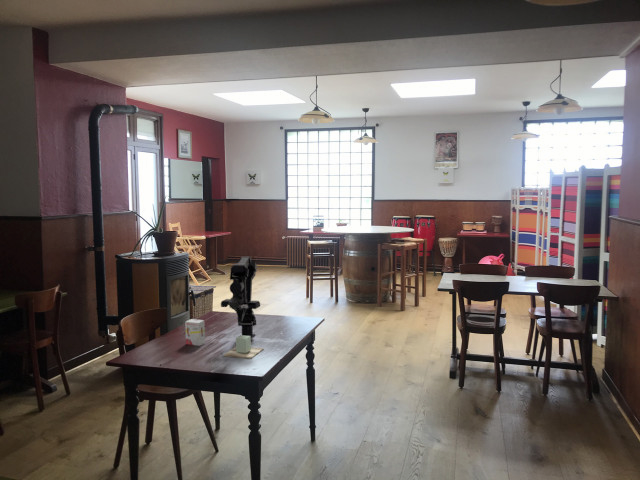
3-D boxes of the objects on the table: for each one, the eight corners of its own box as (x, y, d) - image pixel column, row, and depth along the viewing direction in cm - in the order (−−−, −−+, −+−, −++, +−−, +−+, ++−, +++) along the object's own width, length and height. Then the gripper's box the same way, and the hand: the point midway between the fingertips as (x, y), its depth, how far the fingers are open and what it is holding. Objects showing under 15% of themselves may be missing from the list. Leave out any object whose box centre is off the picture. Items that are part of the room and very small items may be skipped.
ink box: (185, 344, 258) (184, 321, 257) (191, 341, 263) (190, 318, 261) (199, 346, 255) (198, 322, 254) (205, 343, 259) (204, 320, 258)
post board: (237, 347, 252) (237, 346, 252) (263, 349, 248) (263, 348, 248) (223, 356, 238) (223, 355, 238) (251, 358, 234) (251, 357, 234)
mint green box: (241, 348, 246) (240, 335, 245) (251, 349, 245) (250, 336, 244) (236, 352, 241) (235, 338, 241) (246, 353, 240) (245, 339, 239)
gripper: (214, 292, 246) (216, 324, 248) (250, 294, 241) (251, 326, 243) (225, 287, 257) (226, 318, 259) (260, 289, 251) (261, 320, 253)
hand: (241, 321), depth 253 cm, fingers closed
